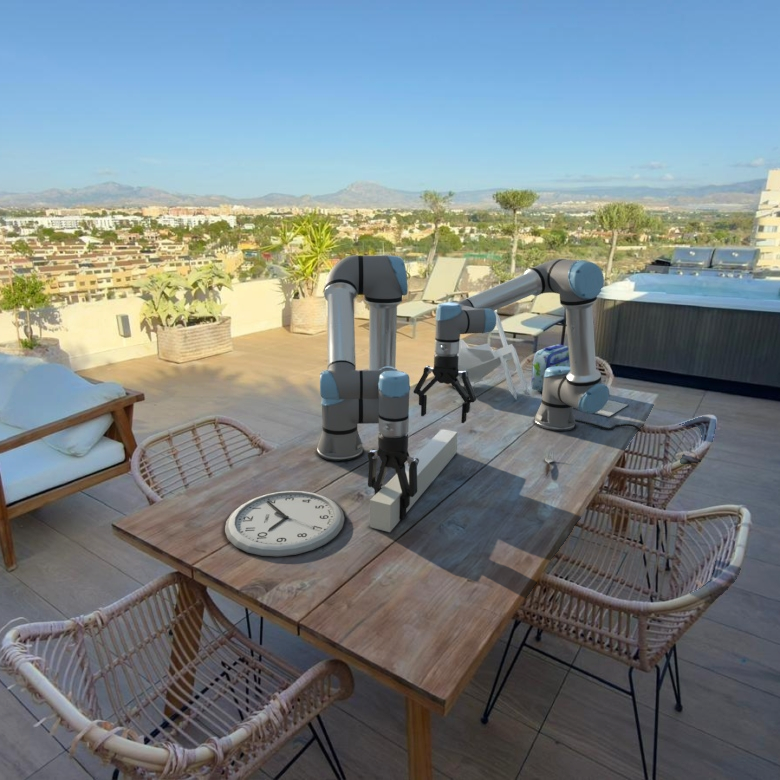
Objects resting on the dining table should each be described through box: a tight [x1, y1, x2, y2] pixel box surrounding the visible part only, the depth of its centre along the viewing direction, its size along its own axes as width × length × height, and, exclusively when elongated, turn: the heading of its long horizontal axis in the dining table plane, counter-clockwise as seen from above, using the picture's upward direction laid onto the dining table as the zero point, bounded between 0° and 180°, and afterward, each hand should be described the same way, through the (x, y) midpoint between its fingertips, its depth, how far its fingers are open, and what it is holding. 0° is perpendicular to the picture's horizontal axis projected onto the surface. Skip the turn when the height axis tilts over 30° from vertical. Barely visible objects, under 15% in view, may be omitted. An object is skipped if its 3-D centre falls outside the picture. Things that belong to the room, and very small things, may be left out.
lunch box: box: [530, 344, 570, 392], centre depth 247 cm, size 26×11×21 cm, turn 134°
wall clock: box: [224, 490, 345, 557], centre depth 134 cm, size 30×2×30 cm
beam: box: [369, 428, 458, 533], centre depth 154 cm, size 54×6×8 cm, turn 155°
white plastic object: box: [443, 310, 531, 400], centre depth 245 cm, size 37×45×31 cm
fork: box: [544, 451, 555, 476], centre depth 168 cm, size 3×16×2 cm, turn 160°
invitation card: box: [595, 399, 629, 418], centre depth 226 cm, size 21×1×15 cm
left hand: (391, 514), depth 138 cm, fingers closed on beam, 6 cm apart
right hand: (443, 418), depth 168 cm, fingers open, 13 cm apart
